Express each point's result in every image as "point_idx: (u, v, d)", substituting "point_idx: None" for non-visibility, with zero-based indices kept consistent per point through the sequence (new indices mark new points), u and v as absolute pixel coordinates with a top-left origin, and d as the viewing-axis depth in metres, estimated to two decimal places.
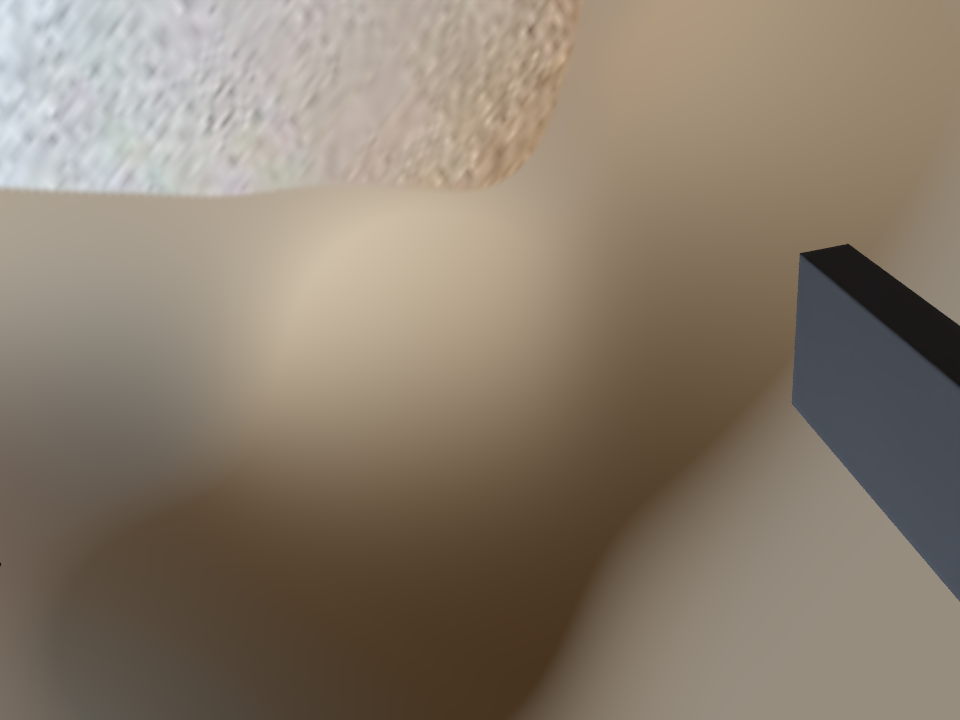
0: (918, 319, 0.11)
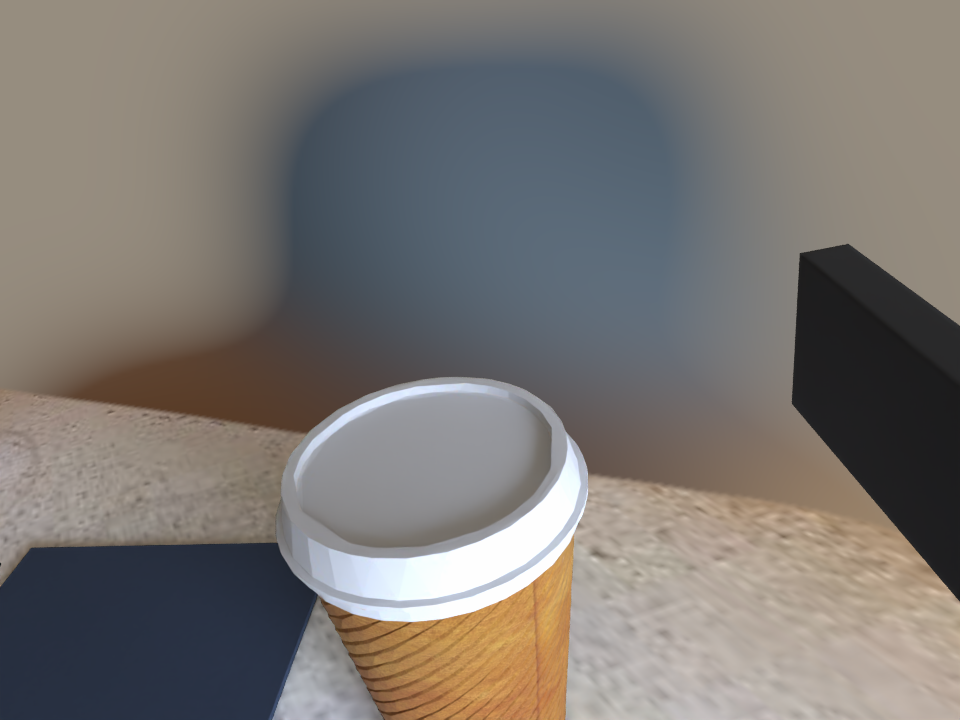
0: (918, 319, 0.11)
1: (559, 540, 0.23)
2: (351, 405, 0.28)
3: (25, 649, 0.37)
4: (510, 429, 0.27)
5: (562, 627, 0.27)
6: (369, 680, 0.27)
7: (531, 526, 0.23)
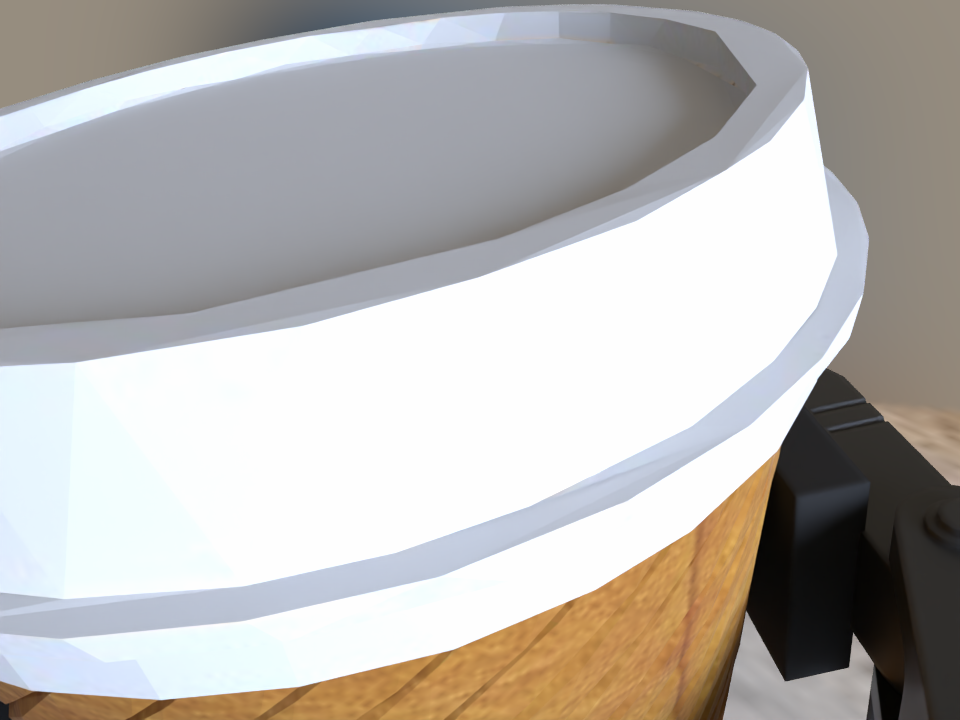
0: None
1: (821, 340, 0.05)
2: (131, 72, 0.10)
3: None
4: (572, 74, 0.09)
5: (729, 680, 0.09)
6: None
7: (723, 252, 0.05)
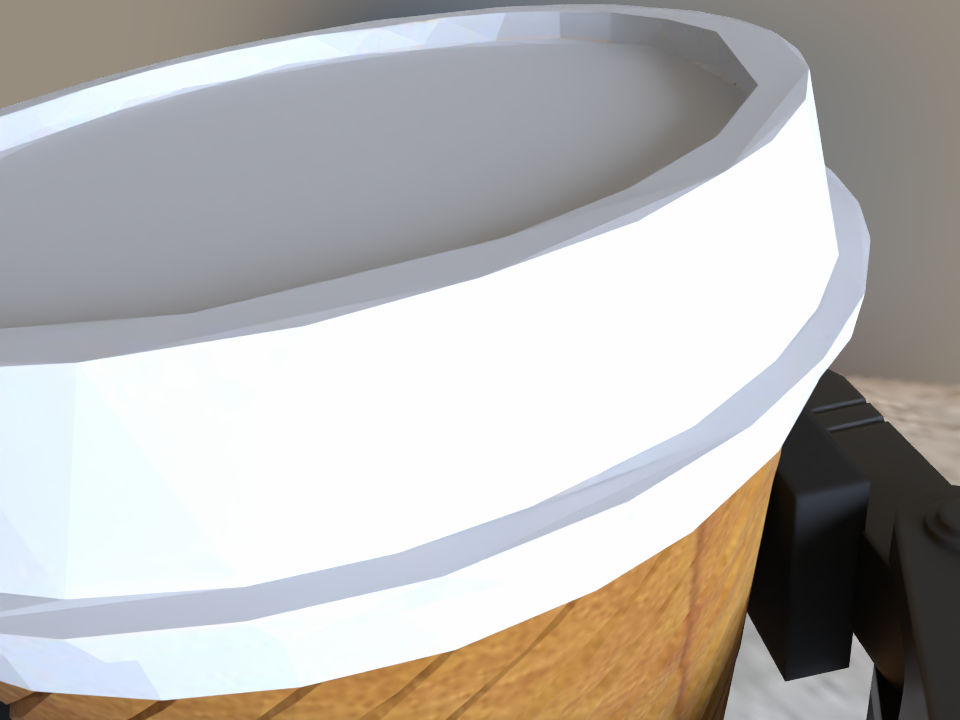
0: None
1: (823, 340, 0.05)
2: (131, 71, 0.10)
3: None
4: (573, 74, 0.09)
5: (730, 681, 0.09)
6: None
7: (723, 250, 0.05)
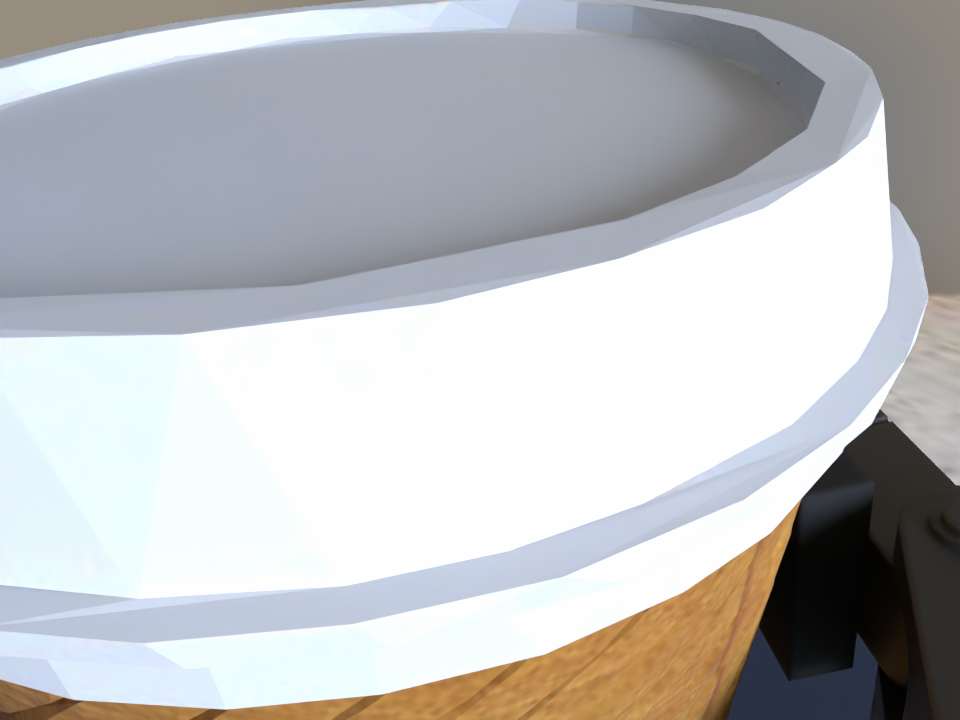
0: None
1: (900, 341, 0.05)
2: (120, 35, 0.10)
3: None
4: (603, 65, 0.08)
5: None
6: None
7: (827, 245, 0.05)
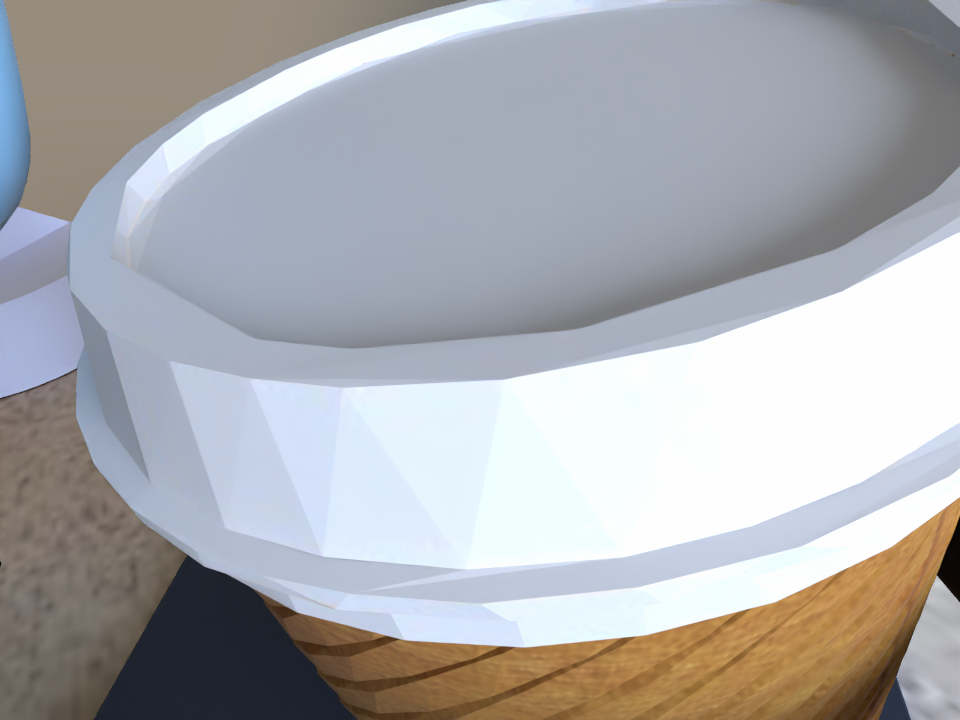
0: None
1: None
2: (316, 51, 0.11)
3: None
4: (771, 44, 0.09)
5: None
6: None
7: None
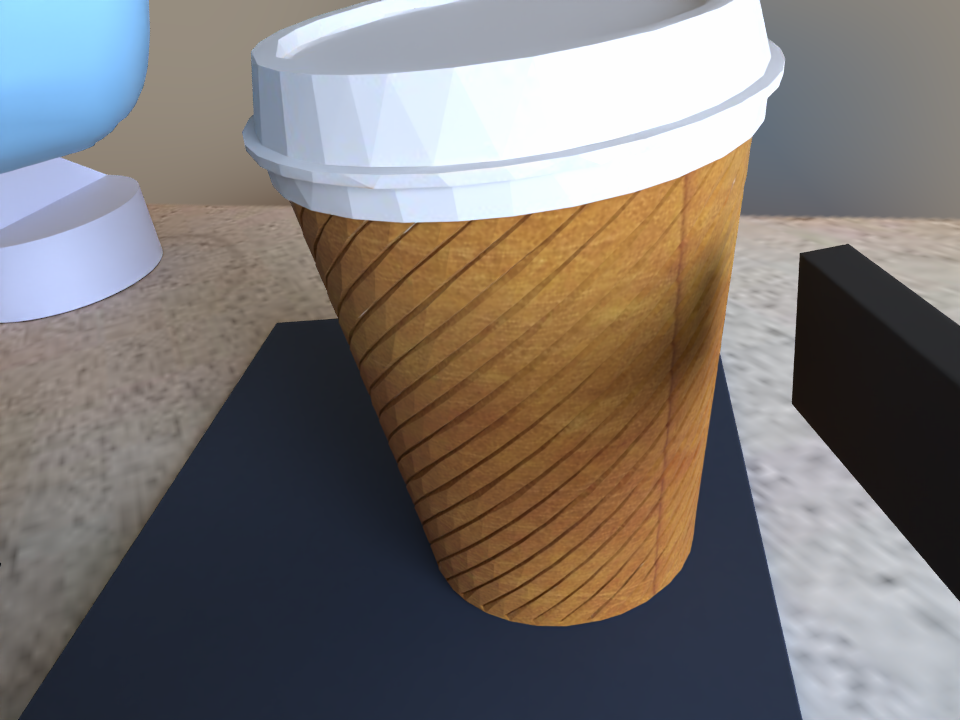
0: (918, 319, 0.11)
1: (741, 99, 0.12)
2: None
3: (322, 413, 0.27)
4: None
5: (714, 340, 0.16)
6: (389, 407, 0.16)
7: (694, 50, 0.12)
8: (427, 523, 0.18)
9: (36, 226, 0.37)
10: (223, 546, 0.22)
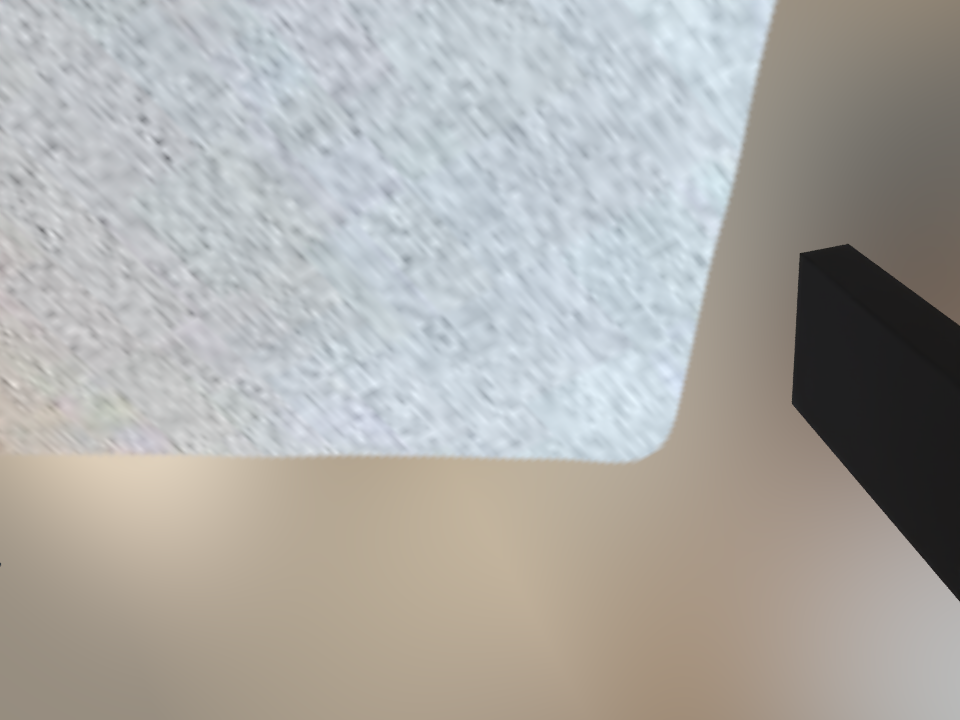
0: (918, 319, 0.11)
1: None
2: None
3: None
4: None
5: None
6: None
7: None
8: None
9: None
10: None
